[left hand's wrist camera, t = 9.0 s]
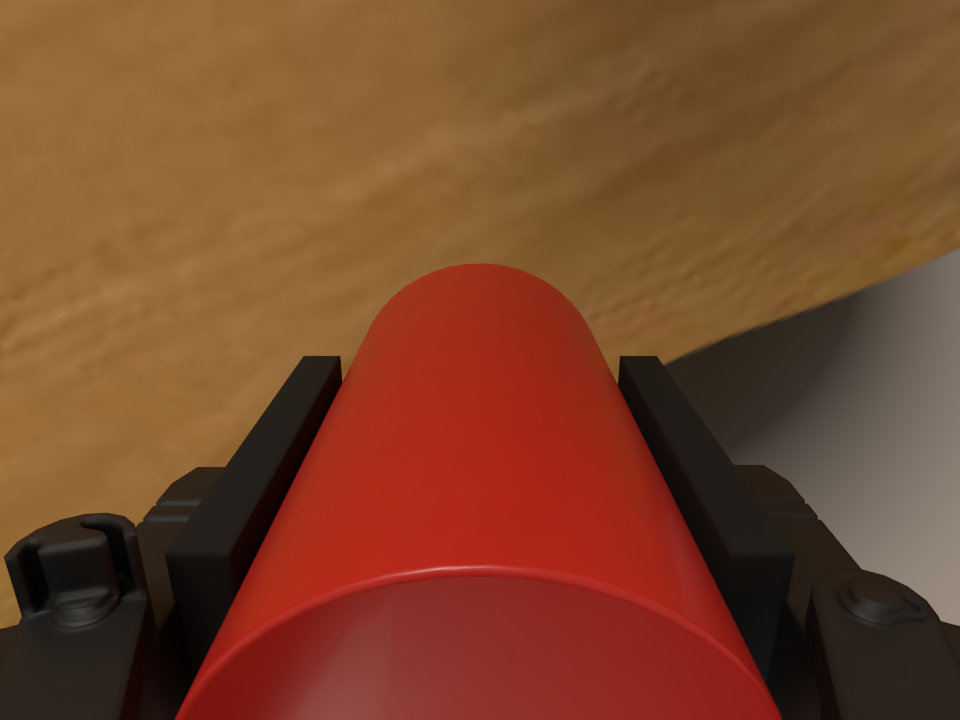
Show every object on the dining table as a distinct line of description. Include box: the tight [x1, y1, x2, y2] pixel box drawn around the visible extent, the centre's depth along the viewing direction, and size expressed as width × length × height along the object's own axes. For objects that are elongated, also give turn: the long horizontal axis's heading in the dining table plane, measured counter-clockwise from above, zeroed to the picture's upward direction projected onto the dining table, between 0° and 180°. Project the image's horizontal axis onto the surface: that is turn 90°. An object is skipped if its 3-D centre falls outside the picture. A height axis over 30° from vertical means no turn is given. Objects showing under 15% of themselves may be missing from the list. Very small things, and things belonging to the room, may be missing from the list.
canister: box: [175, 263, 782, 720], centre depth 11 cm, size 6×6×11 cm
